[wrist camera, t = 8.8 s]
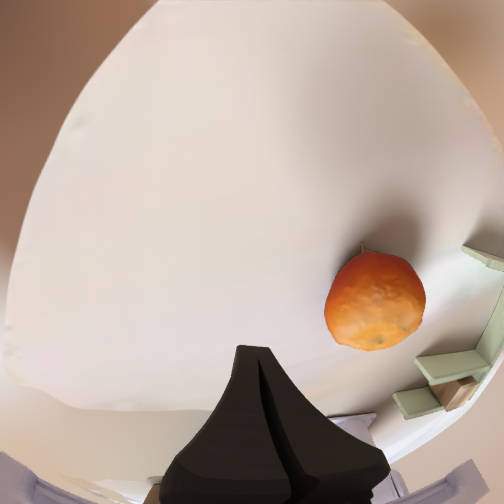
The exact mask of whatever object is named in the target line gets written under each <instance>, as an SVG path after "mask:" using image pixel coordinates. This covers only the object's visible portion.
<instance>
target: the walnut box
mask: <svg viewBox="0 0 504 504" xmlns="http://www.w3.org/2000/svg"><path fill="white" fill-rule="evenodd" d="M427 384H428V386H429V387H430V388H431V390H432V391H433V393H434V394H435V395H436V397H437V398H438V399H439V401H440V402H441V404H442V405H443V406H444V408H445V410H446V412H448V411H451V410H453V409H456V408H459V407H461V406H464V404H465V403H466V402H467V400H468V399H469V398H470V396H471V395H472V394H473V392H474V391H475V389H476V388H477V386H478V385H479V382H478V381H476V380H475V379H474V377H473V376H468V377H465V378H461V379H457V380H453V381H449V382H445V383H441V384H436V385H432V386H430V384H429V381H428V383H427Z"/></svg>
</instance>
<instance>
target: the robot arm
mask: <svg viewBox="0 0 504 504" xmlns="http://www.w3.org/2000/svg"><path fill="white" fill-rule="evenodd" d="M376 416H377V415H376V413H370V414H363V415H355V416H346V417H336V418H327V417H325V416H324V415H323V414H322V413H321V412H320V411H319V410H317V409H316V408H315V407H314V406H313V405H312V404H311V403H310V402H309V401H308V400H307V399H306V398H305V396H304V395H303V394H302V393H301V392H300V391H299V390H298V388H297V387H296V386H295V385H294V383H293V382H292V381H291V379H290V378H289V377H288V375H287V374H286V373H285V371H284V370H283V368H282V367H281V365H280V364H279V362H278V361H277V359H276V358H275V356H274V355H273V353H272V351H271V350H270V348H269V347H257V346H247V345H239V346H237V348H236V353H235V358H234V363H233V368H232V374H231V378H230V380H229V382H228V385H227V387H226V389H225V391H224V393H223V395H222V397H221V399H220V401H219V403H218V404H217V406H216V408H215V409H214V411H213V412H212V414H211V415H210V417H209V419H208V420H207V421H206V423H205V424H204V425H203V427H202V428H201V429H200V431H199V432H198V433H197V434H196V435H195V436H194V438H193V439H192V440H191V441H190V442H189V443H188V444H187V445H186V446H185V447H184V448H183V450H181V451H180V452H179V453H178V454H177V455H176V456H175V458H174V460H173V461H172V463H171V464H170V466H169V468H168V469H167V471H166V473H165V475H164V476H163V479H162V481H161V484H160V490H159V502H160V504H475V503H476V502H477V501H478V500H479V499H481V498H482V497H483V496H485V495H486V494H487V493H488V492H489V490H490V489H489V488H488V486H487V484H486V483H485V481H484V479H483V477H482V475H481V474H480V472H479V471H478V469H477V467H476V465H475V463H474V462H473V460H472V459H469V460H468V461H466V462H464V463H463V464H461V465H459V466H458V467H456V468H455V469H453V470H452V471H451V472H450V473H448V474H447V475H446V477H444V478H442V479H440V480H438V481H436V482H434V483H432V484H430V485H428V486H426V487H424V488H422V489H420V490H417V491H415V492H413V493H411V494H409V492H408V489H407V487H406V485H405V482H404V480H403V478H402V476H401V474H400V472H399V471H398V470H394V469H390V466H389V464H388V462H387V459H386V457H385V455H384V453H383V452H382V450H380V449H378V448H376V446H375V444H374V441H373V439H372V437H371V435H370V433H369V430H368V427H369V425H370V424H371V423H372V421H373V420H374V419H375V417H376ZM389 473H390V475H391V478H390V476H389ZM391 479H392V480H391ZM0 504H97V503H95V502H92V501H89V500H87V499H84V498H82V497H79V496H77V495H74V494H72V493H70V492H67V491H65V490H63V489H61V488H58V487H56V486H54V485H52V484H50V483H48V482H46V481H44V480H42V479H41V478H39V477H37V475H36V474H35V473H34V472H33V471H32V470H31V469H29V468H28V467H27V466H25V465H24V464H22V463H21V462H19V461H17V460H16V459H14V458H12V457H11V456H9V455H8V454H6V453H5V452H3V451H1V452H0Z"/></svg>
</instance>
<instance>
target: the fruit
mask: <svg viewBox="0 0 504 504" xmlns="http://www.w3.org/2000/svg"><path fill="white" fill-rule="evenodd" d="M360 244H361V253H360V254H358V255H356V256H354V257H352V258H351V259H350V260H349V261H348V262H347V263H346V264H345V265H344V266H343V267H342V268H341V270H340V271H339V272H338V274H337V275H336V277H335V279H334V281H333V284H332V286H331V289H330V291H329V294H328V297H327V299H326V303H325V310H324V316H325V321H326V324H327V327H328V329H329V331H330V333H331V334H332V336H333V338H334V339H335V341H336V342H337V343H338V344H340V345H347V346H350V347H352V348H354V349H359V350H364V351H373V350H381V349H386V348H389V347H392V346H394V345H396V344H398V343H400V342H401V341H403V340H404V339H406V338H407V337H408V336H409V335H410V334H412V333H413V332H415V331H416V330H417V329H418V327H419V326H420V324H421V322H422V316H423V312H424V309H425V303H426V295H425V291H424V288H423V285H422V282H421V280H420V279H419V277H418V276H417V274H416V272H415V271H414V269H413V268H412V267H411V265H410V264H409V263H408V262H407V261H405V260H404V259H402V258H400V257H397V256H393V255H388V254H382V253H379V252H376V251H370V250H367V249H365V247H364V244H363V241H362V242H361V241H360Z"/></svg>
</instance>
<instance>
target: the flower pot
mask: <svg viewBox="0 0 504 504" xmlns="http://www.w3.org/2000/svg"><path fill="white" fill-rule="evenodd" d="M159 490H160V485H154V486H152V488H151V490H150V491H149V493H148V495H147V497H146V499H145V501H144V503H143V504H160V502H159Z"/></svg>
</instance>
